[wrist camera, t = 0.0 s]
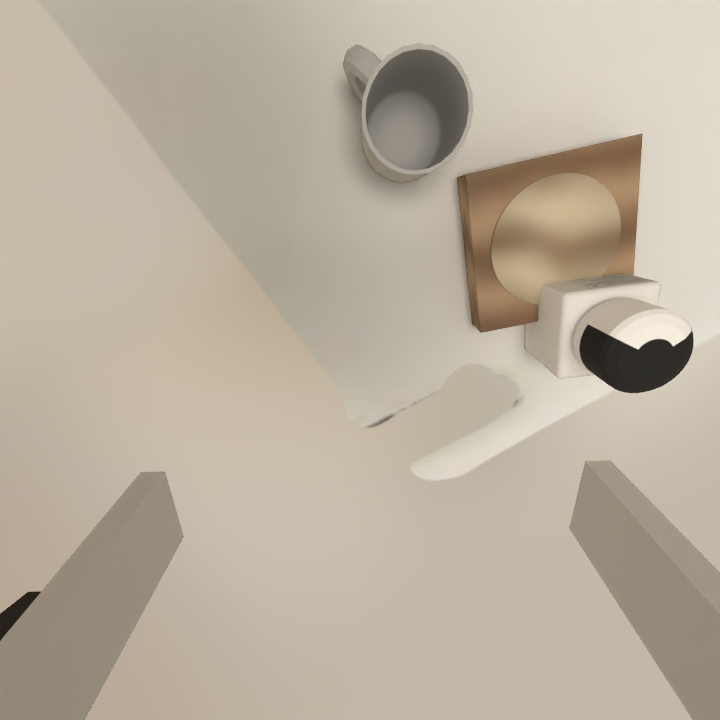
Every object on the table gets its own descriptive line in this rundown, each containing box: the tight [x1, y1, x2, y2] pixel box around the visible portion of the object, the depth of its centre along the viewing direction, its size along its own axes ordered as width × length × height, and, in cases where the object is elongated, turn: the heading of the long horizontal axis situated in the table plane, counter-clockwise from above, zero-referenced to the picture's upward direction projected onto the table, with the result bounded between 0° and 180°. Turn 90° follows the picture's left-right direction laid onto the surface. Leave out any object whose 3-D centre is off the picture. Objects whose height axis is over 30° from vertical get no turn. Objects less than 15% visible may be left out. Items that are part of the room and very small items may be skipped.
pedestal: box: [457, 134, 642, 333], centre depth 34 cm, size 14×14×3 cm
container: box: [525, 273, 693, 393], centre depth 32 cm, size 8×8×13 cm
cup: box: [343, 44, 473, 182], centre depth 28 cm, size 7×10×9 cm
